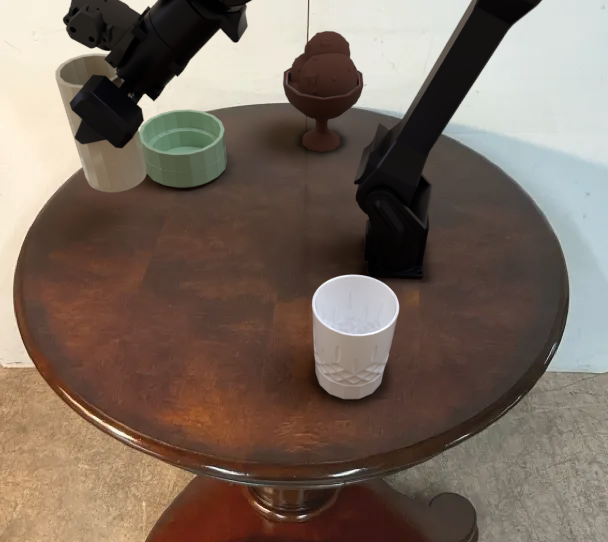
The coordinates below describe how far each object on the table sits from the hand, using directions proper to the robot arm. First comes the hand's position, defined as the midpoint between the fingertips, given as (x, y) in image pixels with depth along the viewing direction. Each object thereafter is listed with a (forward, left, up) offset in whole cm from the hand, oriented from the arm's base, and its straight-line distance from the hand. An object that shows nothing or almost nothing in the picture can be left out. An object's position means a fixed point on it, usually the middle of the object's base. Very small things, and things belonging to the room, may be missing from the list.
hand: (91, 122), depth 77 cm
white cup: (-30, +23, -14) cm, 40 cm away
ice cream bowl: (-25, -20, -14) cm, 35 cm away
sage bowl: (-7, -12, -13) cm, 19 cm away
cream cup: (-1, 0, -7) cm, 7 cm away
